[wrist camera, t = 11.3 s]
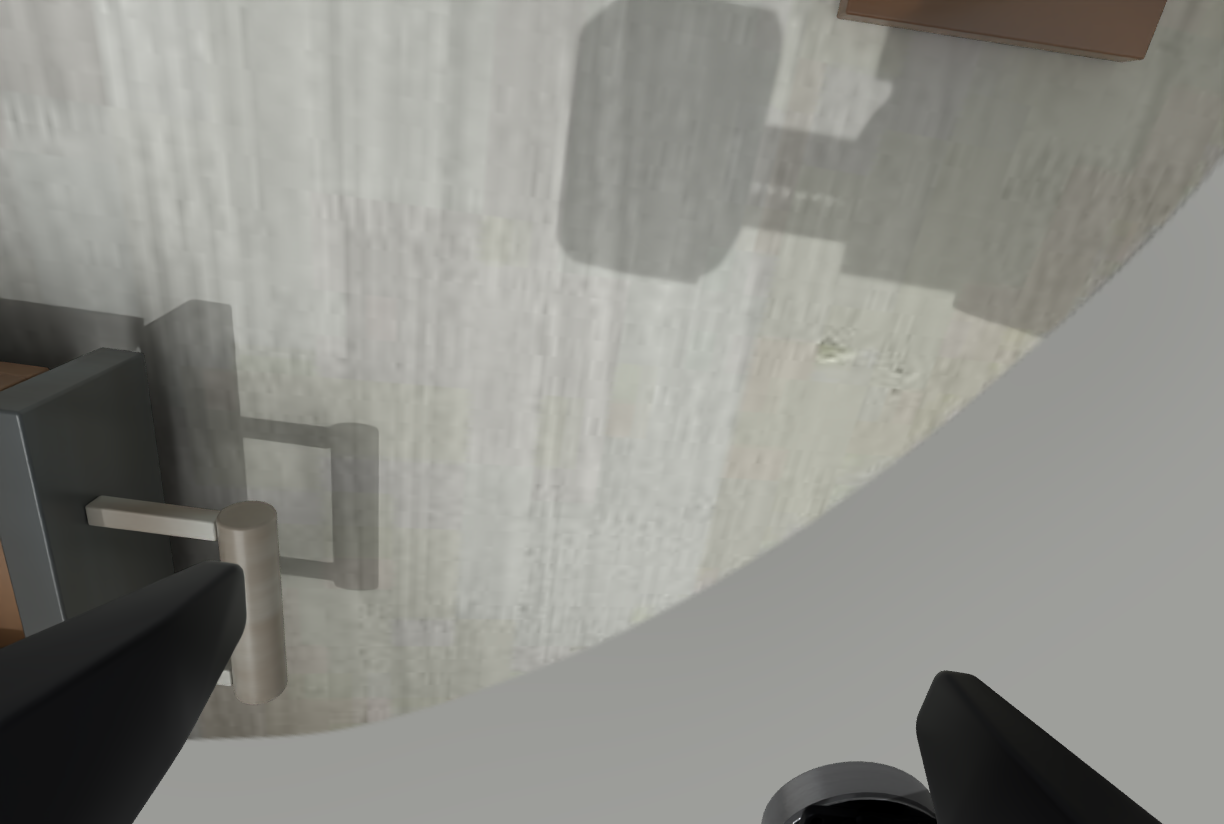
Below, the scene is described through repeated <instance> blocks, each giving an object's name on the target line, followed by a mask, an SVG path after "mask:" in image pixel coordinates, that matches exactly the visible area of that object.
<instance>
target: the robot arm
mask: <svg viewBox="0 0 1224 824" xmlns="http://www.w3.org/2000/svg"><path fill="white" fill-rule="evenodd" d="M246 619H247V610H246V593H245V576H244V571H243V569H242V567H241V566H239V565H238V564H235V563H228V562H222V561H215V560H207V561H203V562H201V563H198V564H196V565H194V566H191V567H189V568H187V569H184V570H182V571H180V572H177V573H175V574H173V575H170V576H168V577H166V578H163V579H161V580H159V581H156V582H154V583H152V584H149V585H147V586H145V587H142V588H140V589H138V590H135V591H133V592H131V593H128V594H126V595H124V596H121V597H119V598H117V599H115V600H112V601H110V602H108V603H105V604H103V605H101V606H98V607H96V608H94V609H91V610H89V611H87V612H84V613H82V614H80V615H77V616H75V617H73V618H70V619H68V620H66V621H63V622H61V623H59V624H56V625H54V626H52V627H49V628H47V629H45V630H42V631H40V632H38V633H35V634H33V635H31V636H28V637H26V638H24V639H22V640H19V641H17V642H15V643H12V644H10V645H8V646H5V647H3V648H1V649H0V824H132V823H133V822H134V820H135V819H136V817H137V815H138V814H139V813H140V811H141V810H142V808H143V807H144V805H145V804H146V802H147V801H148V799H149V798H150V796H151V794H152V793H153V792H154V790H155V789H156V787H157V786H158V784H159V783H160V781H161V780H162V778H163V777H164V775H165V774H166V772H167V771H168V769H169V768H170V766H171V765H172V763H173V761H174V760H175V758H176V756H177V755H178V753H179V752H180V750H181V749H182V747H183V745H184V744H185V742H186V740H187V738H188V736H189V735H190V733H191V731H192V729H193V727H194V726H195V724H196V722H197V720H198V718H199V716H200V714H201V712H202V710H203V709H204V707H205V705H206V703H207V701H208V699H209V697H210V695H211V693H212V692H213V690H214V688H215V686H216V684H217V682H218V680H219V678H220V676H221V674H222V673H223V671H224V669H225V667H226V665H227V663H228V661H229V659H230V657H231V656H232V654H233V652H234V650H235V648H236V646H237V644H238V642H239V640H240V639H241V636H242V634H243V632H244V629H245V625H246ZM916 733H917V739H918V743H919V747H920V752H921V756H922V760H923V764H924V769H925V773H926V777H927V781H928V785H929V789H930V794H931V798H932V802H933V806H934V811H935V815H936V819H931V818H922V817H914V816H906V815H897V814H889V813H881V812H873V811H864V810H856V809H848V808H839V807H831V806H823V805H811V806H808V807H807V808H805V809H804V811H803V813H802V816H801V819H800V822H799V824H1162V823H1161V822H1160V821H1158V820H1157V819H1156V818H1154V817H1153V816H1152V815H1150V814H1149V813H1148V812H1147V811H1146V810H1144V809H1143V808H1142V807H1140V806H1139V805H1138V804H1136V803H1135V802H1134V801H1133V800H1131V799H1130V798H1129V797H1128V796H1127V795H1125V794H1124V793H1123V792H1121V791H1120V790H1119V789H1118V788H1116V787H1115V786H1114V785H1113V784H1111V783H1110V782H1109V781H1108V780H1106V779H1105V778H1104V777H1102V776H1101V775H1100V774H1099V773H1097V772H1096V771H1095V770H1094V769H1092V768H1091V767H1090V766H1088V765H1087V764H1086V763H1084V762H1083V761H1082V760H1081V759H1080V758H1078V757H1077V756H1076V755H1074V754H1073V753H1072V752H1071V751H1069V750H1068V749H1067V748H1066V747H1064V746H1063V745H1062V744H1060V743H1059V742H1058V741H1057V740H1055V739H1054V738H1053V737H1052V736H1050V735H1049V734H1048V733H1047V732H1045V731H1044V730H1043V729H1042V728H1040V727H1039V726H1038V725H1036V724H1035V723H1034V722H1033V721H1031V720H1030V719H1029V718H1028V717H1026V716H1025V715H1024V714H1022V713H1021V712H1020V711H1019V710H1017V709H1016V708H1015V707H1014V706H1012V705H1011V704H1010V703H1008V702H1007V701H1006V700H1005V699H1003V698H1002V697H1001V696H1000V695H998V694H997V693H995V691H993V690H992V689H991V688H990V687H988V686H987V685H986V684H984V683H983V682H982V681H981V680H979V679H978V678H977V677H975V676H973V675H970V674H965V673H959V672H952V671H941V672H939V673H938V674H937V675H936V676H935V678H934V680H933V682H932V684H931V686H930V689H929V691H928V693H927V696H926V698H925V700H924V703H923V705H922V707H921V709H920V711H919V714H918V717H917V722H916Z"/></svg>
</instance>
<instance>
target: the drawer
mask: <svg viewBox="0 0 1224 824" xmlns="http://www.w3.org/2000/svg"><path fill="white" fill-rule="evenodd" d="M169 535H171V536H178V537H186V538H194V539H202V540H210V541H216V540H217V539H218V545H219V554H220V561H222V562H228V563H235V564H238V565H239V566H241V567H242V569H243V571H244V576H245V593H246V610H247V619H246V625H245V629H244V632H243V634H242V636H241V639H240V640H239V642H238V644H237V646H236V648H235V650H234V652H233V654H232V656H231V657H230V659H229V661H228V663H227V665H226V667H225V669H224V671H223V673H222V674H221V676H220V678H219V680H218V682H217V684H218V685H226V686H231V685H232V684H233V685H234V694H235V696H236V698H237V699H238V700H239V701H241V702H243V703H245V704H249V705H258V704H263V703H267V702H269V701H271V700H273V699H275V698H276V697H278V696H279V695H280V694H281V693H282V692H283V691H284V689H285V687H286V685H287V681H288V679H287V664H286V649H285V633H284V618H283V603H282V588H281V572H280V557H279V542H278V527H277V512H276V510H275V509H274V507H273V506H272V505H270V504H268V503H265V502H261V501H244V502H239V503H235V504H232V505H230V506H228V507H226V508H224V509H223V510H221V511H218V510H211V509H203V508H195V507H187V506H180V505H172V504H165V502H164V495H163V488H162V480H161V473H160V466H159V459H158V452H157V445H156V437H155V430H154V423H153V416H152V409H151V402H150V394H149V387H148V380H147V373H146V366H145V359H144V354H143V353H139V352H132V351H125V350H117V349H110V348H100V349H97V350H95V351H93V352H90V353H88V354H86V355H83V356H81V357H79V358H76V359H74V360H72V361H70V362H67V363H65V364H63V365H60V366H58V367H56V368H53V369H51V370H49V369H48V368H46V367H39V366H31V365H24V364H17V363H9V362H2V361H0V649H1V648H3V647H5V646H8V645H10V644H12V643H15V642H17V641H19V640H22V639H24V638H26V637H28V636H31V635H33V634H35V633H38V632H40V631H42V630H45V629H47V628H49V627H52V626H54V625H56V624H59V623H61V622H63V621H66V620H68V619H70V618H73V617H75V616H77V615H80V614H82V613H84V612H87V611H89V610H91V609H94V608H96V607H98V606H101V605H103V604H105V603H108V602H110V601H112V600H115V599H117V598H119V597H121V596H124V595H126V594H128V593H131V592H133V591H135V590H138V589H140V588H142V587H145V586H147V585H149V584H152V583H154V582H156V581H159V580H161V579H163V578H166V577H168V576H170V575H173V574H174V567H173V559H172V552H171V545H170V538H169Z"/></svg>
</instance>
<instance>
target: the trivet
mask: <svg viewBox="0 0 1224 824" xmlns="http://www.w3.org/2000/svg"><path fill="white" fill-rule="evenodd" d="M1166 2H1167V0H841V1H840V5H839V9H838V14H837V18H839V19H845V20H852V21H858V22H865V23H871V24H878V25H884V26H891V27H897V28H904V29H910V30H917V31H923V32H930V33H936V34H943V35H949V36H956V37H962V38H969V39H975V40H982V41H988V42H995V43H1001V44H1008V45H1014V46H1021V47H1027V48H1034V49H1040V50H1047V51H1053V52H1060V53H1066V54H1073V55H1079V56H1086V57H1092V58H1099V59H1105V60H1112V61H1118V62H1125V61H1134V60H1142V59H1144V57H1145V55H1146V52H1147V50H1148V47H1149V45H1150V42H1151V40H1152V37H1153V35H1154V32H1155V29H1156V27H1157V24H1158V22H1159V19H1160V17H1161V14H1162V12H1163V9H1164V7H1165V4H1166Z"/></svg>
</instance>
